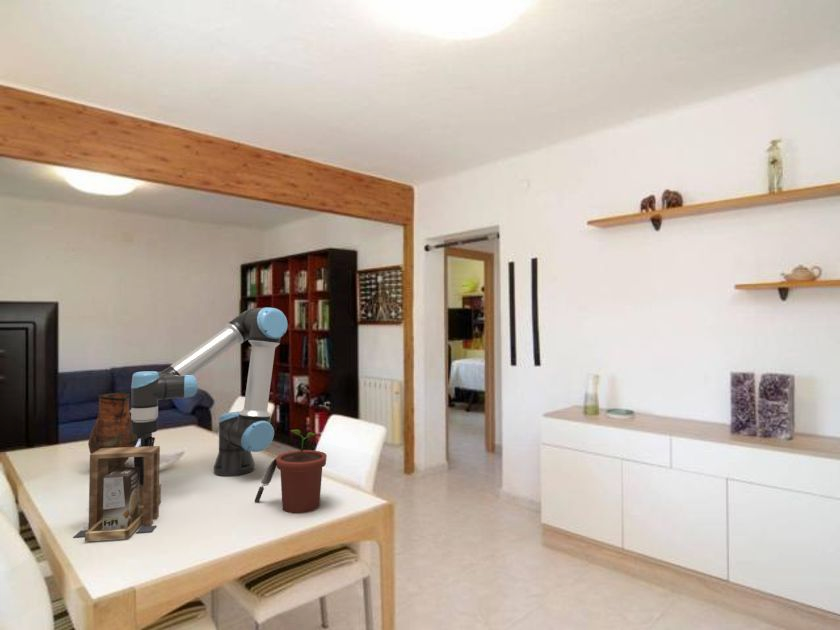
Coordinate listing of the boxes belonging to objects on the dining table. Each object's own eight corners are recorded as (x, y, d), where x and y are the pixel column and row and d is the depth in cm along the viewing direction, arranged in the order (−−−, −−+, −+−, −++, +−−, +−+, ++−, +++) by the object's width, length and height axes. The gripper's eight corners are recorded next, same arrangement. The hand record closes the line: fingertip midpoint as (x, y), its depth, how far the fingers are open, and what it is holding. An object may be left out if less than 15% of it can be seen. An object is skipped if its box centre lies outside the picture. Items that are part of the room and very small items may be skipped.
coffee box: (127, 534, 134) (128, 476, 134) (101, 536, 132) (102, 477, 133) (139, 521, 143) (140, 466, 143) (115, 522, 141) (116, 467, 142)
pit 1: (96, 530, 136) (96, 529, 136) (89, 536, 132) (89, 535, 132) (80, 531, 135) (80, 530, 135) (73, 538, 131) (73, 536, 131)
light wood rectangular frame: (160, 502, 156) (160, 484, 156) (128, 537, 131) (129, 515, 131) (124, 504, 154) (124, 485, 154) (84, 541, 129) (85, 518, 129)
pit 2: (156, 526, 139) (156, 525, 139) (151, 532, 135) (151, 531, 135) (141, 527, 138) (141, 526, 138) (136, 533, 134) (136, 532, 134)
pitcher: (97, 480, 180) (99, 398, 180) (77, 469, 193) (78, 393, 193) (145, 469, 193) (146, 393, 193) (123, 460, 206) (124, 389, 206)
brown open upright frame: (158, 516, 146) (159, 446, 147) (150, 526, 139) (151, 452, 140) (99, 520, 143) (101, 448, 143) (88, 530, 136) (89, 454, 137)
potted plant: (285, 522, 143) (286, 436, 143) (253, 502, 159) (254, 425, 159) (336, 507, 155) (337, 428, 155) (302, 489, 171) (303, 418, 171)
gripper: (139, 416, 162) (138, 487, 161) (123, 424, 149) (121, 501, 149) (163, 415, 163) (162, 486, 163) (149, 423, 151) (148, 500, 150)
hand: (143, 493), depth 156 cm, fingers closed
